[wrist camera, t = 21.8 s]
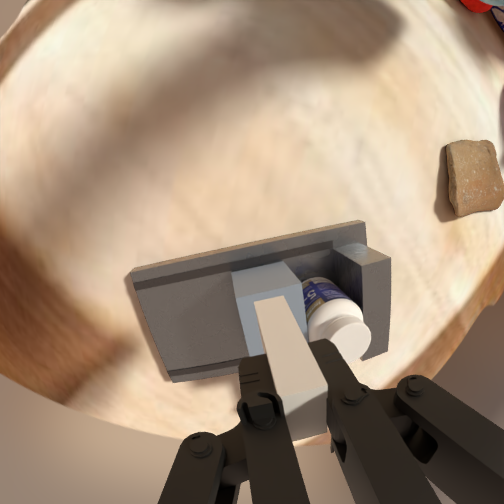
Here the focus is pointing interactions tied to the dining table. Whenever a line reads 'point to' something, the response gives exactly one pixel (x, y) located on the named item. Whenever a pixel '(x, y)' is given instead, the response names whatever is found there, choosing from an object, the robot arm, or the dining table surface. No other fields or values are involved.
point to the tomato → (476, 5)
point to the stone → (474, 177)
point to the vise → (224, 302)
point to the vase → (498, 15)
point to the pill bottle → (334, 318)
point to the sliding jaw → (264, 287)
